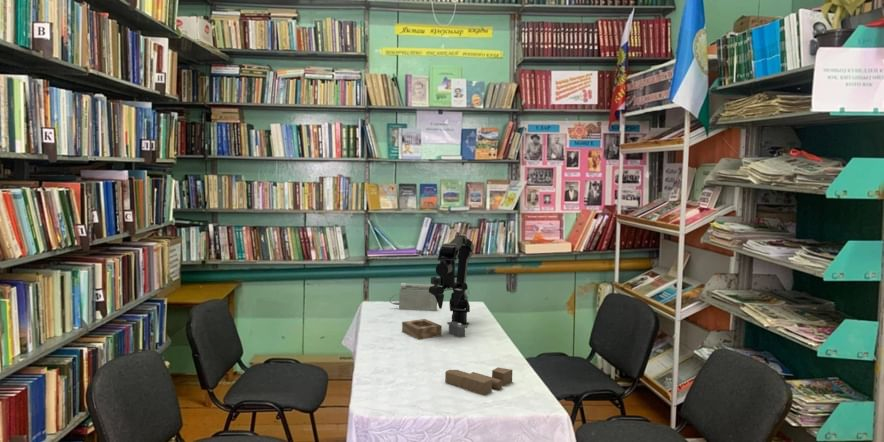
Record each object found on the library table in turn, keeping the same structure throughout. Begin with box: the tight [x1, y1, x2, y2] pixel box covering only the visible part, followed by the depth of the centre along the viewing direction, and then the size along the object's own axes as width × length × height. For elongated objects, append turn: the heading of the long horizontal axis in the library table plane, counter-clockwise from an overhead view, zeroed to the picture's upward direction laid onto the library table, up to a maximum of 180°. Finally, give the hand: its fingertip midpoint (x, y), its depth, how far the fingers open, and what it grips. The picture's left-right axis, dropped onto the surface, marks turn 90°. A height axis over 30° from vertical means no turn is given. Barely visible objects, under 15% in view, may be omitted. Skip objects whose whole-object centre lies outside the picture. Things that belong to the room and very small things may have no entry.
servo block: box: [446, 321, 468, 338], centre depth 271 cm, size 4×10×6 cm, turn 34°
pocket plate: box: [401, 318, 443, 340], centre depth 271 cm, size 12×14×4 cm
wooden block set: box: [444, 367, 513, 396], centre depth 211 cm, size 17×6×18 cm
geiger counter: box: [389, 282, 438, 312], centre depth 316 cm, size 14×6×25 cm
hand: (448, 307), depth 271 cm, fingers open, 9 cm apart
